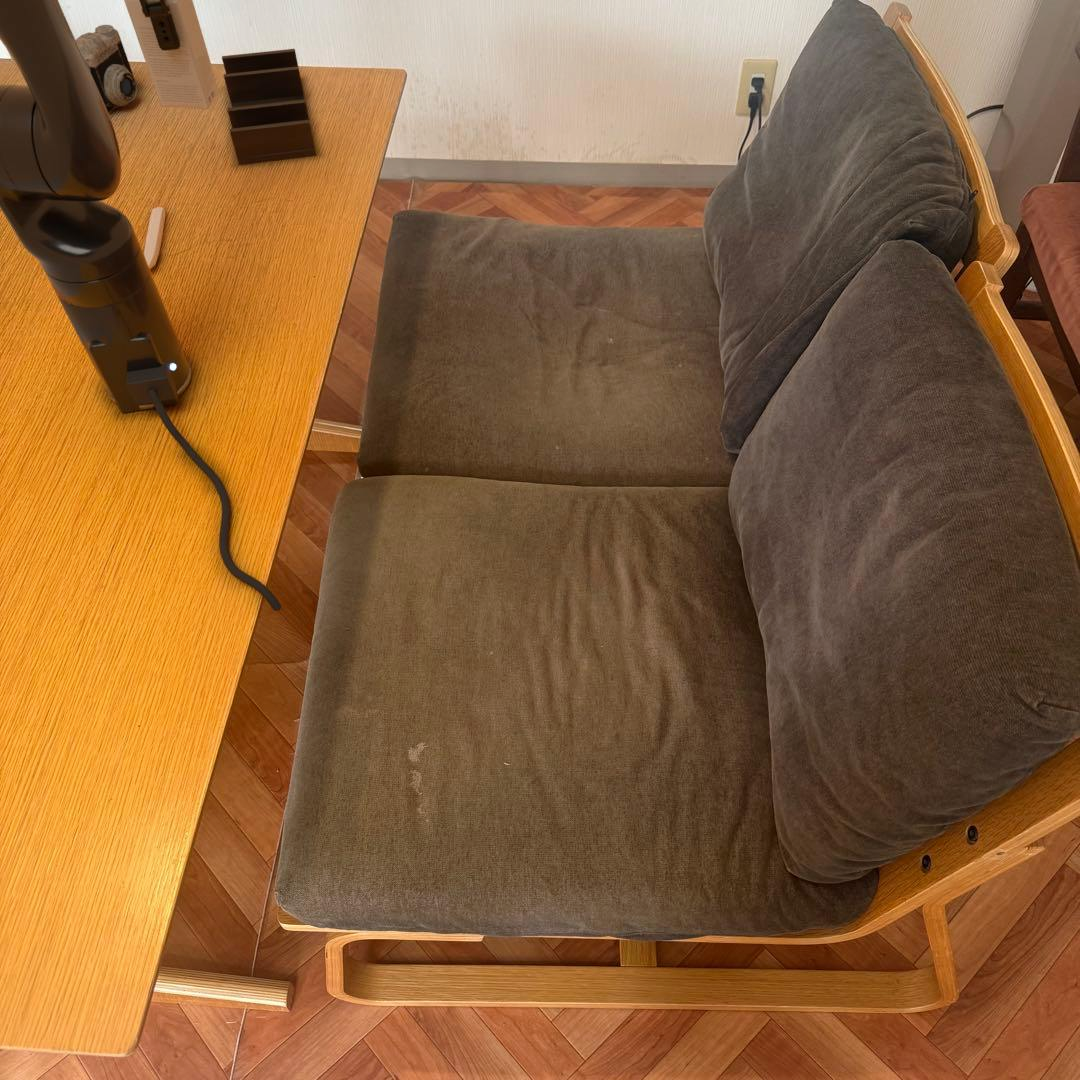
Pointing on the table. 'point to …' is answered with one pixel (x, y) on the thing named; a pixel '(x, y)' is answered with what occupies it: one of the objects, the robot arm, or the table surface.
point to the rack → (267, 107)
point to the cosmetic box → (177, 58)
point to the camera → (108, 66)
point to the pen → (154, 236)
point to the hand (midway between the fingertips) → (170, 34)
